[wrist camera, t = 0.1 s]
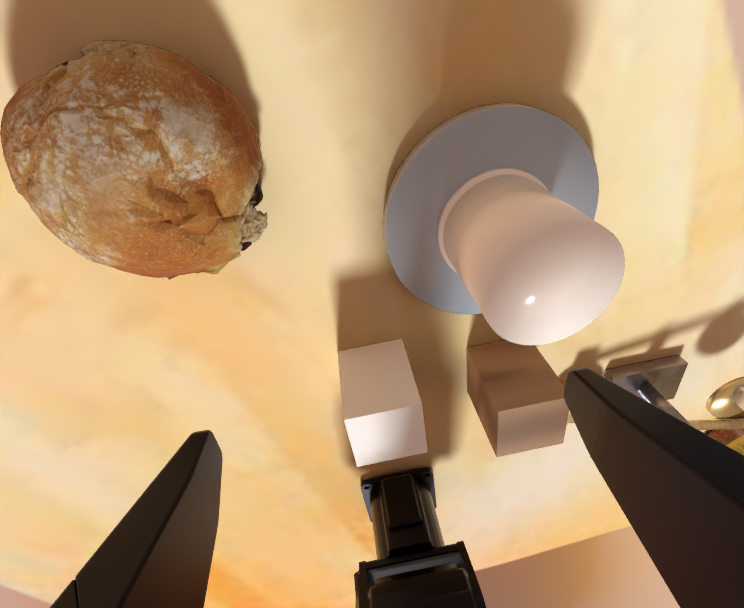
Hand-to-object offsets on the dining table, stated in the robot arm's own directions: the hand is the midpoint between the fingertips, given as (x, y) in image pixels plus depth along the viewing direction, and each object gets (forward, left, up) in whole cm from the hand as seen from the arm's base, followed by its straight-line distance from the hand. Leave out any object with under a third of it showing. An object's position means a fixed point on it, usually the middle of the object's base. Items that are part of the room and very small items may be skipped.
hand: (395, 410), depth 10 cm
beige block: (-12, 0, -15) cm, 19 cm away
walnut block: (-14, -9, -15) cm, 22 cm away
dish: (-2, -8, -14) cm, 17 cm away
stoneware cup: (-2, -8, -13) cm, 16 cm away
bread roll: (+4, +8, -15) cm, 17 cm away
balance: (-19, -21, -14) cm, 32 cm away
